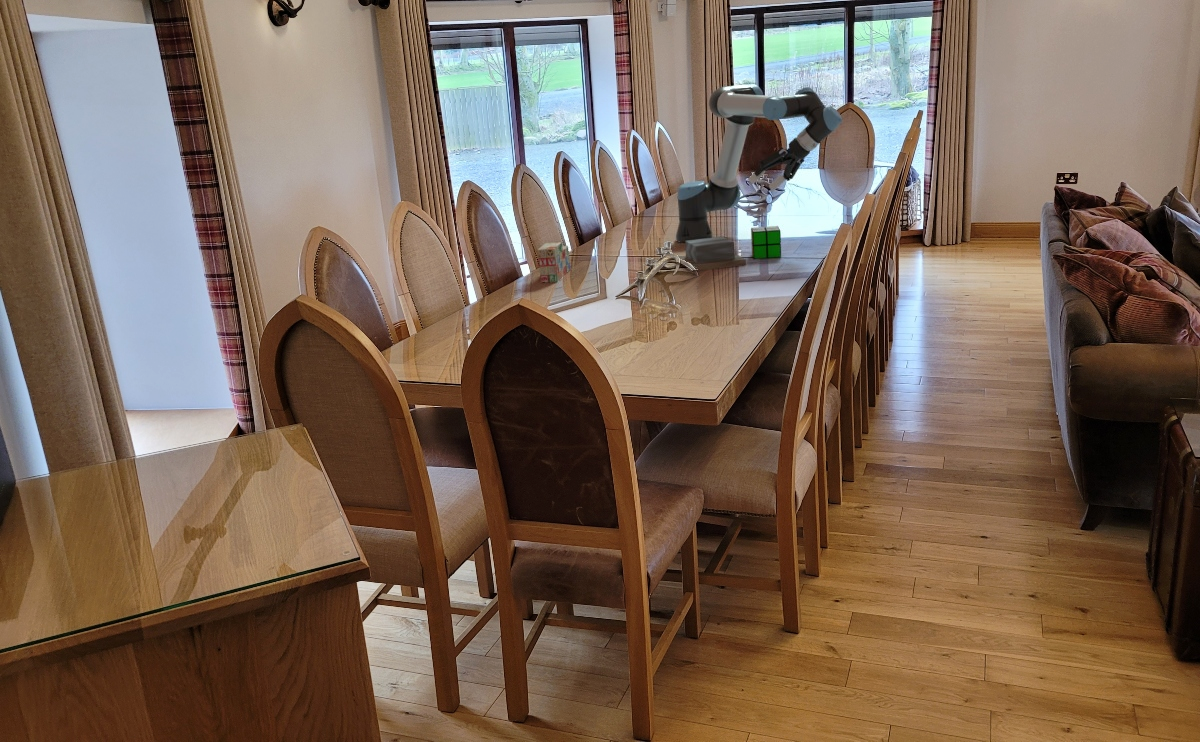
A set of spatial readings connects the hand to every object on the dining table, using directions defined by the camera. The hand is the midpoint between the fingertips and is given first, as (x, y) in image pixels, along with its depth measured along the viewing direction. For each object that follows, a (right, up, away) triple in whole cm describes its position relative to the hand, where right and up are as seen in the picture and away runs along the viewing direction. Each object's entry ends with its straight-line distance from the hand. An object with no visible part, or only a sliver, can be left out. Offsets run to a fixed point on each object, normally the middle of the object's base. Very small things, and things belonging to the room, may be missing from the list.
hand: (760, 185), depth 340 cm
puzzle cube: (+2, -26, +2) cm, 26 cm away
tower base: (-19, -29, -3) cm, 35 cm away
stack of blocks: (-75, -34, -2) cm, 82 cm away
